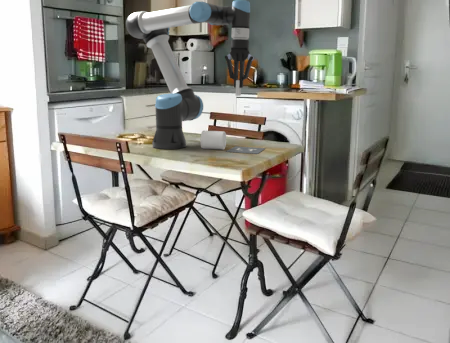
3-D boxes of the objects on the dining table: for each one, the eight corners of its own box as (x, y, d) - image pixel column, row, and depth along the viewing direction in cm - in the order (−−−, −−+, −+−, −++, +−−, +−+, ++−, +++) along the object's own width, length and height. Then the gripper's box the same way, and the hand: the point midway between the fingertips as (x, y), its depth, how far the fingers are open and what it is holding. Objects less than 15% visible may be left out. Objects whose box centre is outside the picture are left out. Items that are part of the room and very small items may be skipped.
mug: (222, 151, 194) (222, 132, 192) (200, 149, 196) (200, 131, 194) (228, 146, 206) (228, 129, 204) (207, 145, 208) (207, 128, 206)
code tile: (225, 151, 192) (225, 151, 192) (235, 146, 205) (235, 146, 205) (257, 154, 188) (257, 153, 188) (265, 148, 201) (265, 148, 201)
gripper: (222, 38, 188) (221, 95, 194) (252, 38, 184) (250, 96, 190) (228, 39, 195) (226, 94, 201) (257, 39, 191) (254, 95, 196)
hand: (238, 95), depth 195 cm, fingers closed
